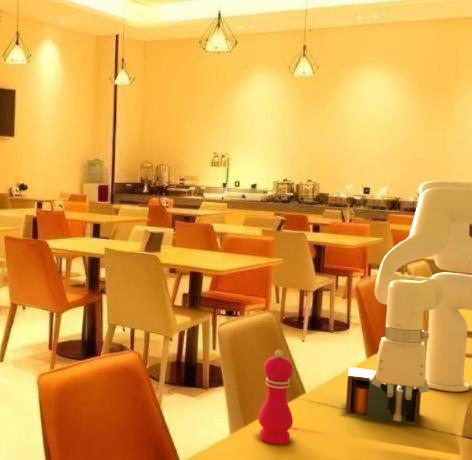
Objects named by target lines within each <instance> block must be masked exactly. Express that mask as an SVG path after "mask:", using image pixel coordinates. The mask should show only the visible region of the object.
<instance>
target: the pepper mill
mask: <svg viewBox="0 0 472 460" xmlns="http://www.w3.org/2000/svg"><path fill="white" fill-rule="evenodd" d="M283 356H284V352H283V350H281V349H277V350H276V351H275V352H274V356H270V357H269V358H268V359H267V360H266V361H265V363H264V365H263V371H264V374H265V375H266V376H267V377H266V378H265V385H266V386H267V393H266V398H265V401H264V403H263V405H262V406H261V408H260V410H259V412H258V420H257V421H258V423H259V425H260V426H261V428H260V430H259V438H260V440H261V441H263V442H264V443H268V444H272V445H285V444H288V443H289V442H290V439H291V438H290V436H291V433H290V432H289V430H290V429H291V428H292V427H293V424H294V422H293V415H292V411H291V408H290V406H289V403H288V400H287V393H288V389H289V388H290V379H289V378H290V377H291V376H292V375H293V373H294V370H293V369H294V368H293V363H292V362H291V361H290V360H289V359H288V358H286V357H283Z"/></svg>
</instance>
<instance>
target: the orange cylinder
mask: <svg viewBox="0 0 472 460" xmlns="http://www.w3.org/2000/svg"><path fill="white" fill-rule="evenodd" d="M368 395H369V386H367V385H355V386H354V401H353V411H355V412H358V413H363V414H367V410H368Z"/></svg>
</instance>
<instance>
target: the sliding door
mask: <svg viewBox="0 0 472 460" xmlns="http://www.w3.org/2000/svg"><path fill="white" fill-rule="evenodd" d="M371 381H372V379H370V380H369V395H368V410H367V416H366V418H369V419H375V420H381V421H382V420H383V421H389V422H394V423H395V422H396V423H402V424H406V421H405V417H403V416H402V403H403V397H404V394H405V393H406V386H402V385H395V384H393V392H394V396H395V408H394V415H391V410H388V396H387V394H386V393H385V392H384V391H383V390H382V389H381V388H380V387H377V386H375V385H373V384H372V383H371ZM386 384H387V383H386ZM387 386H388V384H387ZM405 415H406V412H405Z"/></svg>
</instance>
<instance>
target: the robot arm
mask: <svg viewBox="0 0 472 460" xmlns="http://www.w3.org/2000/svg"><path fill="white" fill-rule="evenodd" d="M470 224H471V225H472V181H471V182H470V181H450V180H432V181H431V180H430V181H426V182H423V183H422V184H421V185H420V186H419V188H418V201H417V205H416V210H415V213H414V217H413V220H412V224H411V228H410V231H409V235H408V237H407V238H406V239H404V240H402V241H400V242H399V243H397V244H395V246H393V248H391V250H389V251H388V252H387V253H386V255H385V256H384V257H383V259H382V261H381V263H380V266H379V269H378V272H377V276H376V279H375V284H374V296H375V299H376V301H378V302H379V303H380V304H381V305H386V318H385V333H384V336H383V337H381V339H380V342H379V347H378V352H377V359H376V370H375V371H376V373H375V375H374V377H373V378H372V381H371V383H372V384H373V385H375V386H377V387H380V388H381V389H382V390H383V391H384V392H385V393H386V394H387V396H388V410H391V415H394V408H395V396H394V392H393V384H395V385H402V386H406V393H405V394H404V397H403V403H402V416H403V417H405V412H406V413H409V402H410V399H411V398H412V397H414V396H415V395H417V394H418V393H421V394H422V393H427V392H429V391H430V389H433V390H438V391H444V392H453V393H454V392H456V393H457V392H458V393H459V392H460V393H461V392H467V391H469V390H470V384H469V382H467V381H465V380H464V378H465V365H466V352H467V351H466V350H467V337H468V323H467V320H466V319H465V317H464V316H463V314H462V313H461V311H460V310H466V311H472V236H470ZM432 256H433V261H434V264H435V266H436V267H437V268H438V269H440V270H443V271H449V272H438V273H435V274H433V275H431V277H425V276H417V275H416V276H415V275H408V274H407V275H406V274H399V273H398V274H397V273H396V272H397V271H398V270H399V269H400V268H401V267H403V266H404V265H407V264H408V263H411V262H414V261H415V262H416V261H418V260H422V259H426V258H429V257H432ZM466 273H467V274H466ZM425 311H428V316H429V317H428V329H427V330H428V331H427V332H426V331H424V330H423V327H424V312H425ZM424 339H427V344H426V343H425V341H423V340H424ZM386 383H387V384H388V386H387V384H386ZM412 387H414V388H413V389H412Z"/></svg>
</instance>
